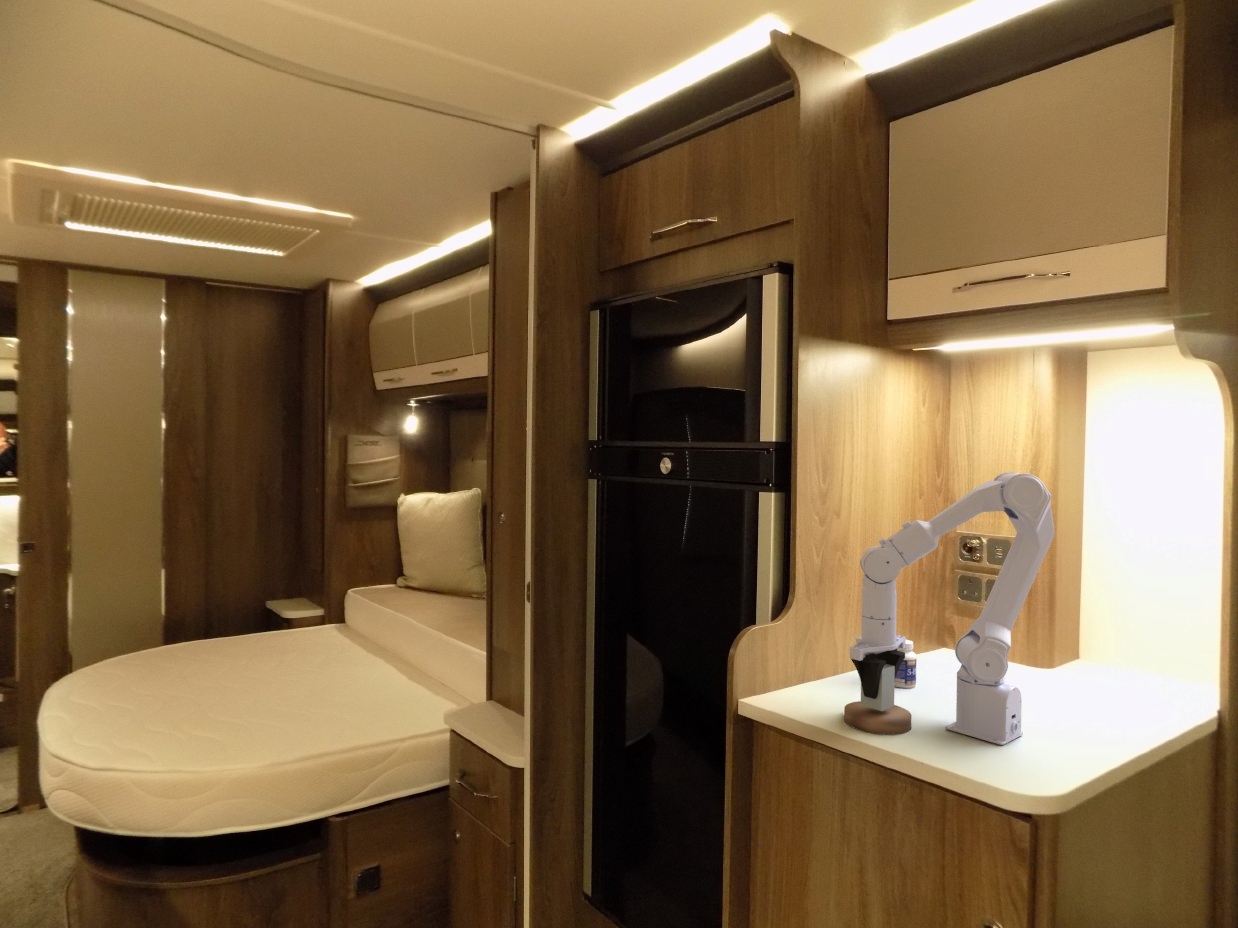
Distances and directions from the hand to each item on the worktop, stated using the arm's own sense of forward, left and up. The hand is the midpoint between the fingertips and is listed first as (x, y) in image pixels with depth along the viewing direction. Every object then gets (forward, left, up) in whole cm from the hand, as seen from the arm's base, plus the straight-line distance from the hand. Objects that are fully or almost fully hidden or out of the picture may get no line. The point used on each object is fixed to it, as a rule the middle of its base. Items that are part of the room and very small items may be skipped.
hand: (877, 694), depth 131 cm
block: (0, 0, -2) cm, 2 cm away
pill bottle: (+9, -24, -5) cm, 26 cm away
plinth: (0, 0, -5) cm, 5 cm away
